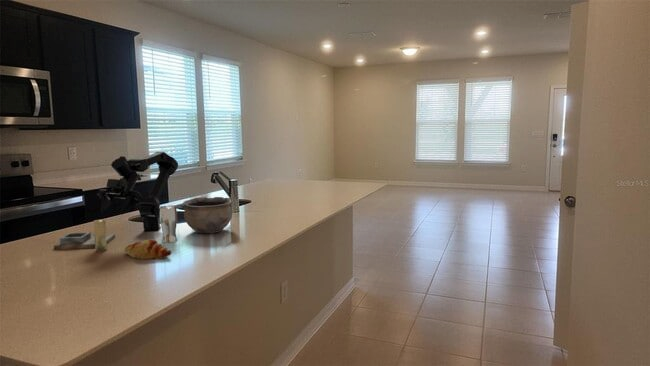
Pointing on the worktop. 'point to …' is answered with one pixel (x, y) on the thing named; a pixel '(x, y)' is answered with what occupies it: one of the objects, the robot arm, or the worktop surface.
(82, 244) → the plate
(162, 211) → the beer glass
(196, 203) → the ceramic bowl
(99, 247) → the pale yellow drinking glass
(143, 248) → the croissant
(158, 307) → the worktop surface
